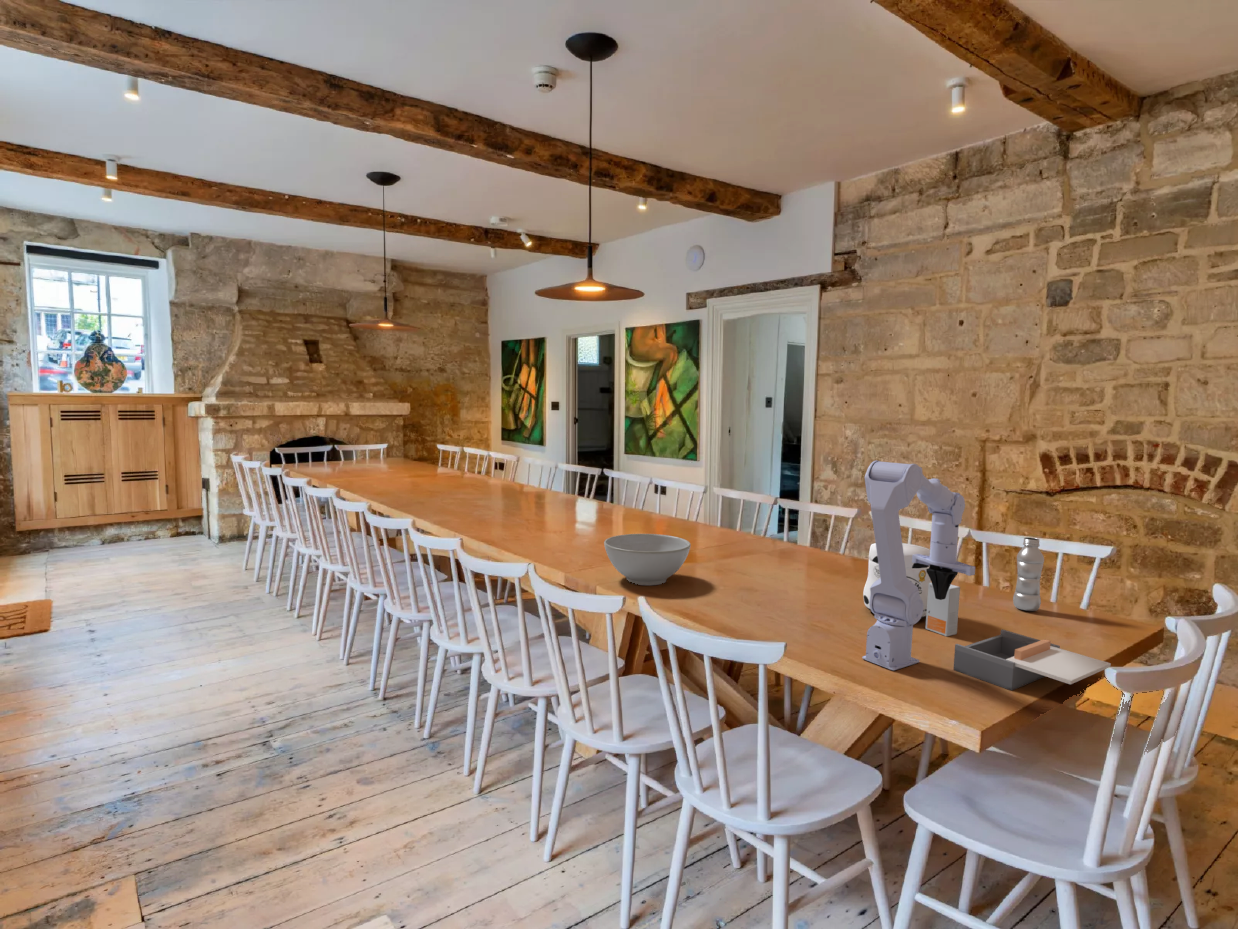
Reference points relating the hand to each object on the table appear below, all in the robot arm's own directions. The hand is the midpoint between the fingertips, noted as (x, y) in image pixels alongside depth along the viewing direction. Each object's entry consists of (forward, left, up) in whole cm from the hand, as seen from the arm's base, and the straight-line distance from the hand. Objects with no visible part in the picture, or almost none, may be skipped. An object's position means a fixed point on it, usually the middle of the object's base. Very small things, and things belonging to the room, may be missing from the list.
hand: (940, 598), depth 161 cm
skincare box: (+7, +4, -11) cm, 13 cm away
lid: (-4, -28, -6) cm, 29 cm away
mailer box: (-4, -18, -10) cm, 21 cm away
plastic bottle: (+45, +2, -11) cm, 46 cm away
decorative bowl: (-29, +79, -11) cm, 85 cm away
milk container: (+10, +18, -11) cm, 23 cm away
